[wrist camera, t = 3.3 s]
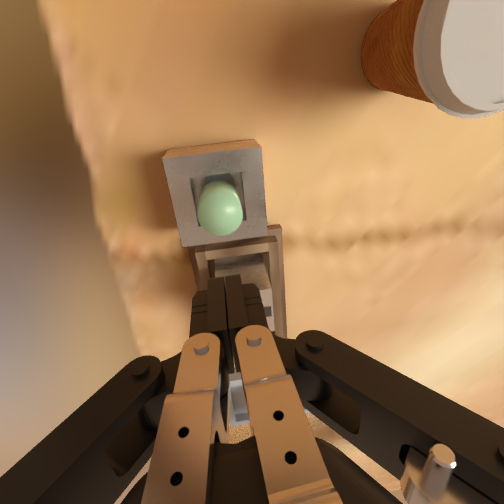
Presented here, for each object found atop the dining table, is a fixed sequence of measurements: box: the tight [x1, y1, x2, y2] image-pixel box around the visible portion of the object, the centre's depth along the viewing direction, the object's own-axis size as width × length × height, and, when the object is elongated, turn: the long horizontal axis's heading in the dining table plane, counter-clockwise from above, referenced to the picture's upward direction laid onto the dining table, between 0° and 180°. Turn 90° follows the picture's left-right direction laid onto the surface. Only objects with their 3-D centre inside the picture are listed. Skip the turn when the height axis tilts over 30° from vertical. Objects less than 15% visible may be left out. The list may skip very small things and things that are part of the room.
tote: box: [229, 368, 311, 427], centre depth 44 cm, size 13×10×2 cm
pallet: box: [188, 224, 287, 364], centre depth 35 cm, size 10×18×2 cm, turn 5°
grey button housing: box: [162, 139, 268, 247], centre depth 28 cm, size 8×8×4 cm
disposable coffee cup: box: [361, 0, 504, 118], centre depth 21 cm, size 10×10×12 cm
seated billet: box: [215, 253, 275, 331], centre depth 31 cm, size 5×5×7 cm
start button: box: [198, 180, 243, 236], centre depth 24 cm, size 3×3×4 cm
